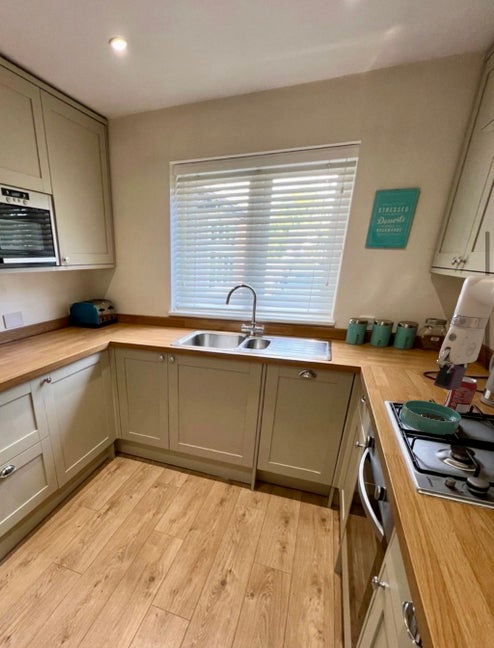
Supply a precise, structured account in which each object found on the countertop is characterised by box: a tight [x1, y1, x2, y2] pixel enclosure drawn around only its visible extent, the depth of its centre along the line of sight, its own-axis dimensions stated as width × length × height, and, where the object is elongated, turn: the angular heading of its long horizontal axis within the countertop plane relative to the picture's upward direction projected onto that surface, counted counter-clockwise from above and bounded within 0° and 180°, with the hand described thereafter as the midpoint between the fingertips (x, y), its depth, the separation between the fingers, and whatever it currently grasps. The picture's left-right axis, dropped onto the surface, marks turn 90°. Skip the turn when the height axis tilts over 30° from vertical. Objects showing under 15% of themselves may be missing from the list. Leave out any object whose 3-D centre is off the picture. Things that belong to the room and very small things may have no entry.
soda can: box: [443, 376, 478, 415], centre depth 114 cm, size 7×7×12 cm
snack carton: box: [433, 363, 467, 392], centre depth 97 cm, size 4×4×6 cm
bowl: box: [399, 399, 462, 436], centre depth 106 cm, size 15×15×5 cm
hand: (447, 383), depth 98 cm, fingers closed on snack carton, 4 cm apart
